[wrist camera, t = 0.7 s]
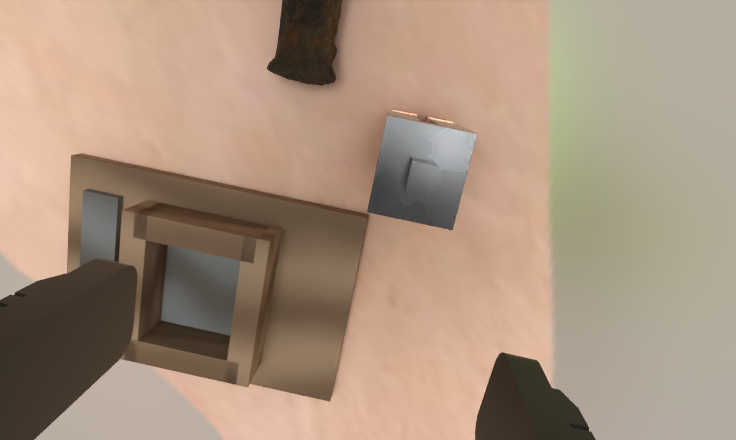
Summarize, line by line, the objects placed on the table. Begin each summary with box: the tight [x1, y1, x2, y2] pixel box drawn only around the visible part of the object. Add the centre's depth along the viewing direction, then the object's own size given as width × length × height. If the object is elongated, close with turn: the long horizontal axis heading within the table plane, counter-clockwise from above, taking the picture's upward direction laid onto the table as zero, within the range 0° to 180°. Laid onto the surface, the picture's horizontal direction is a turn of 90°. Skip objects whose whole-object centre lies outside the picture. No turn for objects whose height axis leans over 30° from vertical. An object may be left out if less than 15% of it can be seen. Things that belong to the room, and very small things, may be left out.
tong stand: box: [67, 154, 369, 401], centre depth 32 cm, size 14×20×4 cm
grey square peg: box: [367, 109, 477, 230], centre depth 24 cm, size 4×4×13 cm
